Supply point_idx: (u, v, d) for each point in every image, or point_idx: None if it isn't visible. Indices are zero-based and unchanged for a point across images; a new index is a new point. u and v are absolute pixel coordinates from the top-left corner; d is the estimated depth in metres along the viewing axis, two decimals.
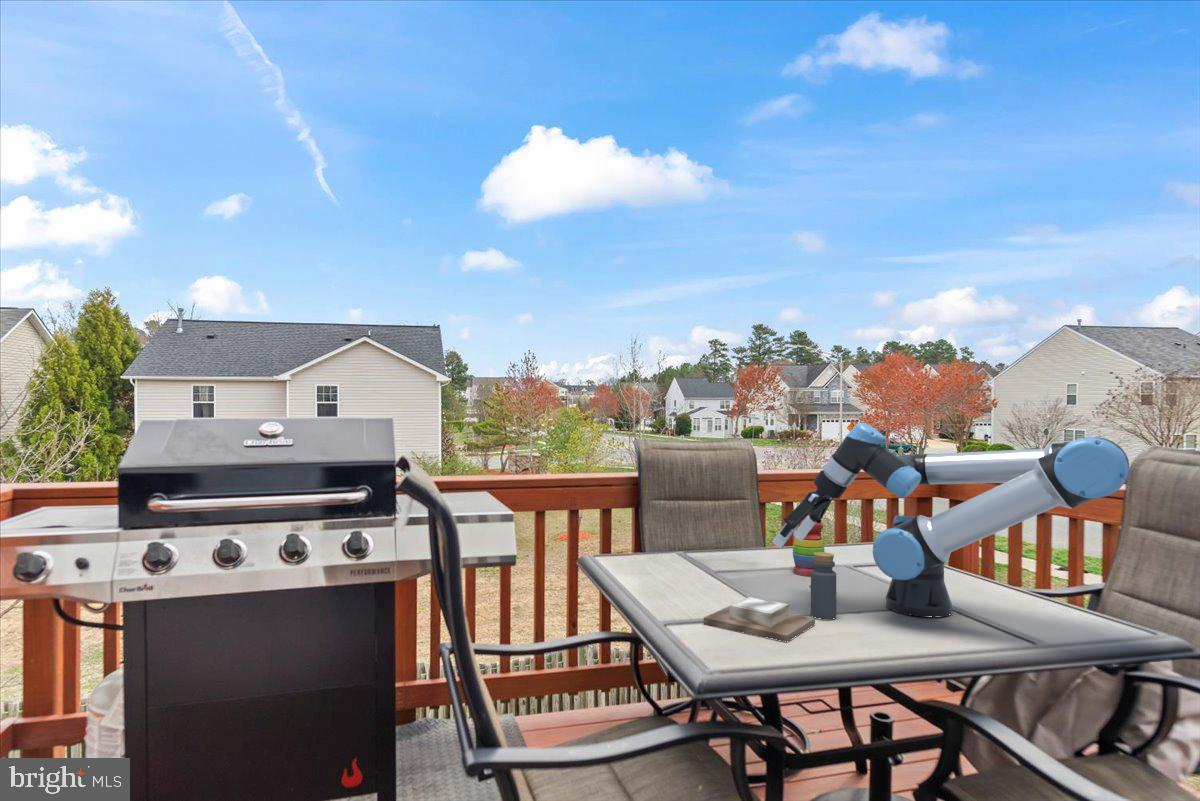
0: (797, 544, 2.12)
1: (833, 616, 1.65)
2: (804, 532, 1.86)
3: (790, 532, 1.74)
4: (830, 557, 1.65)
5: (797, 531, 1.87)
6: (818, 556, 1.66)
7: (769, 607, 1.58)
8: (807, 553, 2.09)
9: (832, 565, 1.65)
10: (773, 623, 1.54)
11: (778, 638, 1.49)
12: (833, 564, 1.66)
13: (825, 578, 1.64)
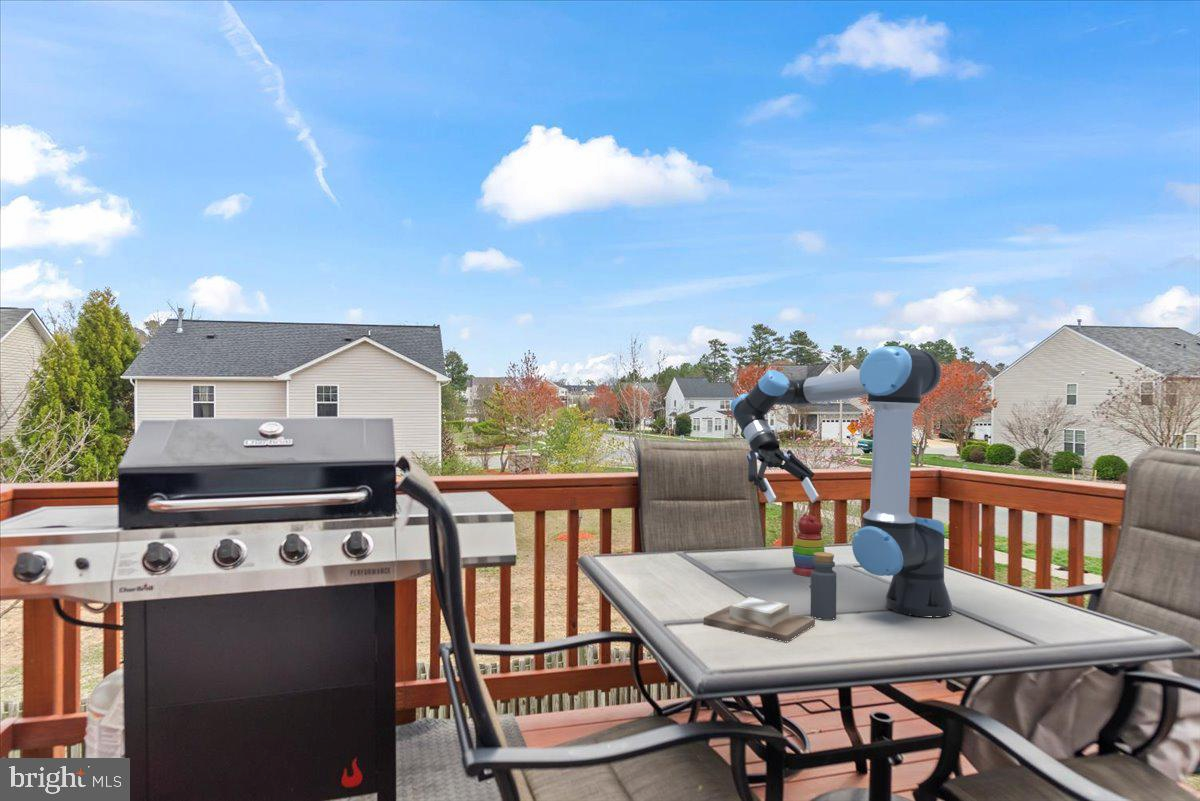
0: (797, 544, 2.12)
1: (833, 616, 1.65)
2: (811, 490, 1.87)
3: (765, 483, 1.83)
4: (830, 557, 1.65)
5: (810, 497, 1.87)
6: (818, 556, 1.66)
7: (769, 607, 1.58)
8: (807, 553, 2.09)
9: (832, 565, 1.65)
10: (773, 623, 1.54)
11: (778, 638, 1.49)
12: (833, 564, 1.66)
13: (825, 578, 1.64)
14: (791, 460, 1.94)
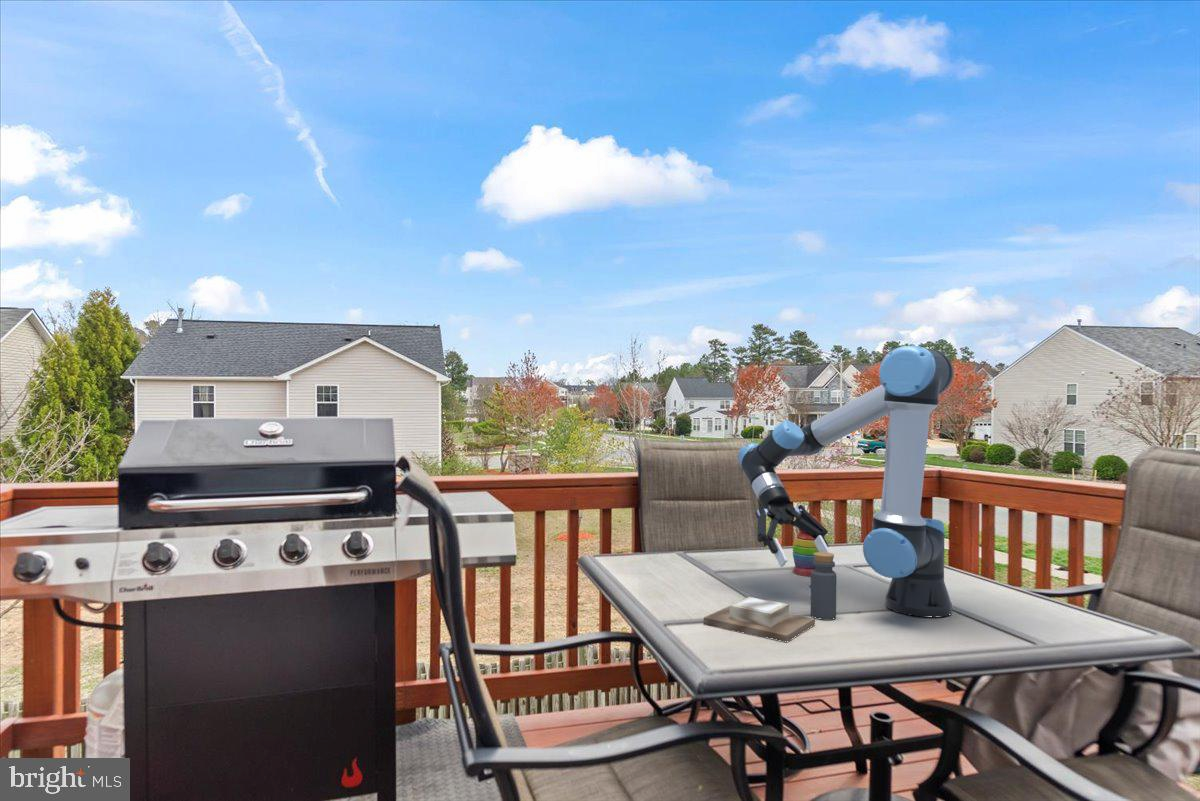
0: (797, 544, 2.12)
1: (833, 616, 1.65)
2: (824, 549, 1.76)
3: (775, 543, 1.72)
4: (830, 557, 1.65)
5: None
6: (818, 556, 1.66)
7: (769, 607, 1.58)
8: (807, 553, 2.09)
9: (832, 565, 1.65)
10: (773, 623, 1.54)
11: (778, 638, 1.49)
12: (833, 564, 1.66)
13: (825, 578, 1.64)
14: (803, 516, 1.83)
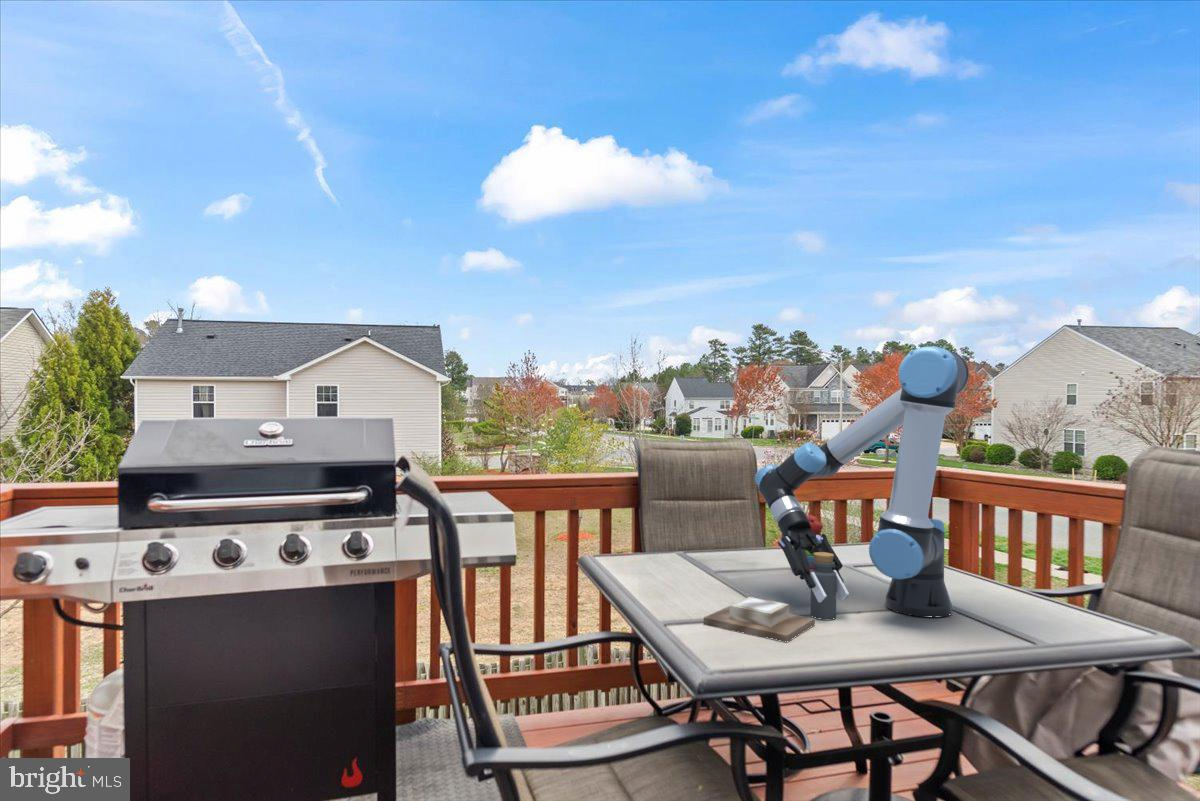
0: None
1: (833, 615, 1.65)
2: (839, 585, 1.66)
3: (813, 577, 1.65)
4: (830, 557, 1.65)
5: (838, 593, 1.67)
6: (818, 556, 1.66)
7: (769, 607, 1.58)
8: (807, 553, 2.09)
9: (832, 565, 1.65)
10: (773, 623, 1.54)
11: (778, 638, 1.49)
12: (833, 564, 1.66)
13: (825, 578, 1.64)
14: (822, 545, 1.75)
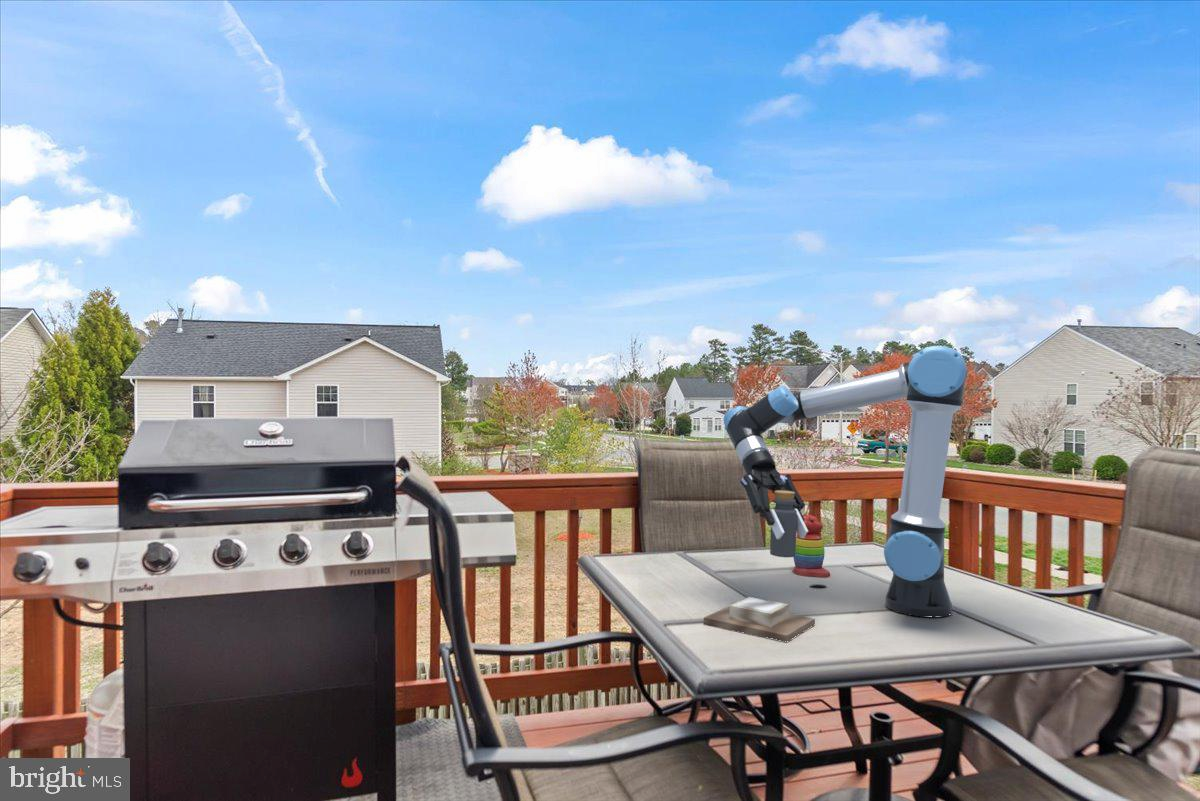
0: (797, 544, 2.12)
1: (791, 553, 1.63)
2: (799, 524, 1.64)
3: (772, 514, 1.64)
4: (790, 494, 1.63)
5: (798, 531, 1.65)
6: (778, 493, 1.64)
7: (769, 607, 1.58)
8: (807, 553, 2.09)
9: (792, 502, 1.63)
10: (773, 623, 1.54)
11: (778, 638, 1.49)
12: (793, 501, 1.64)
13: (785, 515, 1.63)
14: (786, 485, 1.73)
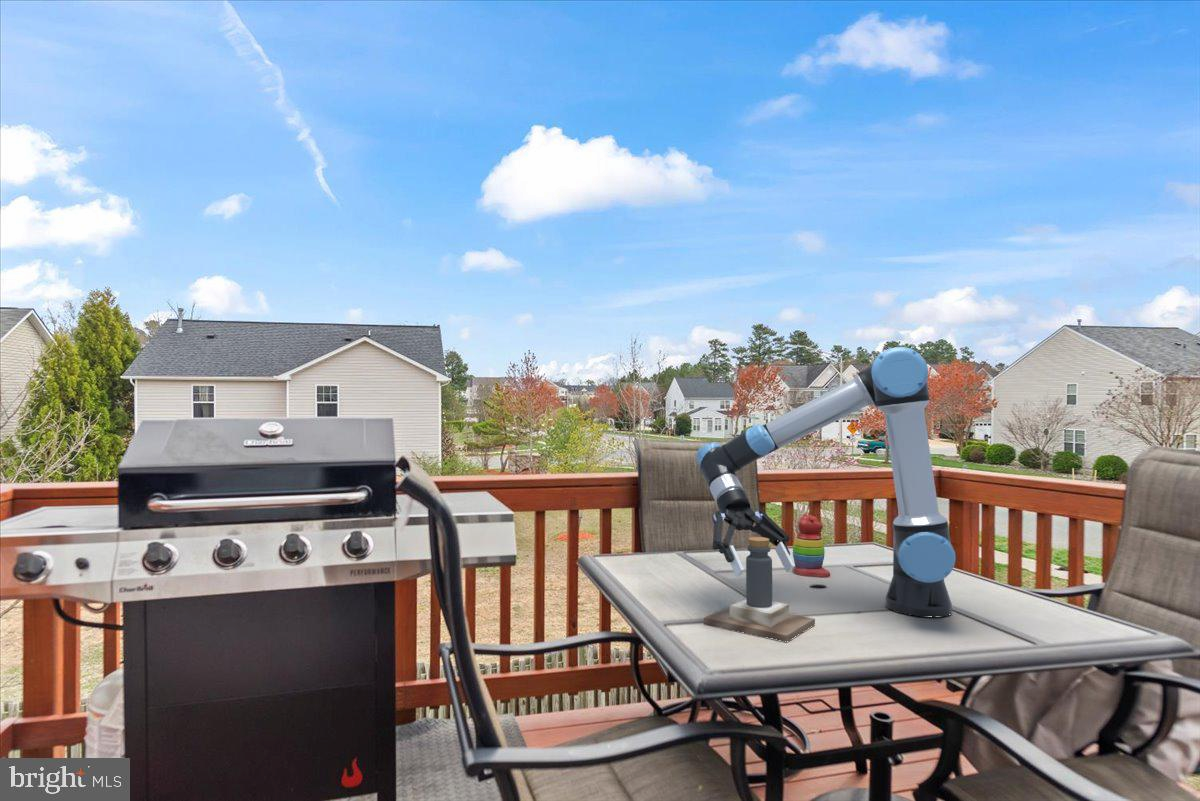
0: (797, 544, 2.12)
1: (768, 603, 1.58)
2: (785, 557, 1.62)
3: (731, 551, 1.58)
4: (765, 542, 1.58)
5: (784, 565, 1.62)
6: (752, 541, 1.59)
7: (769, 607, 1.58)
8: (807, 553, 2.09)
9: (767, 550, 1.58)
10: (773, 623, 1.54)
11: (778, 638, 1.49)
12: (768, 549, 1.59)
13: (760, 564, 1.58)
14: (764, 521, 1.69)
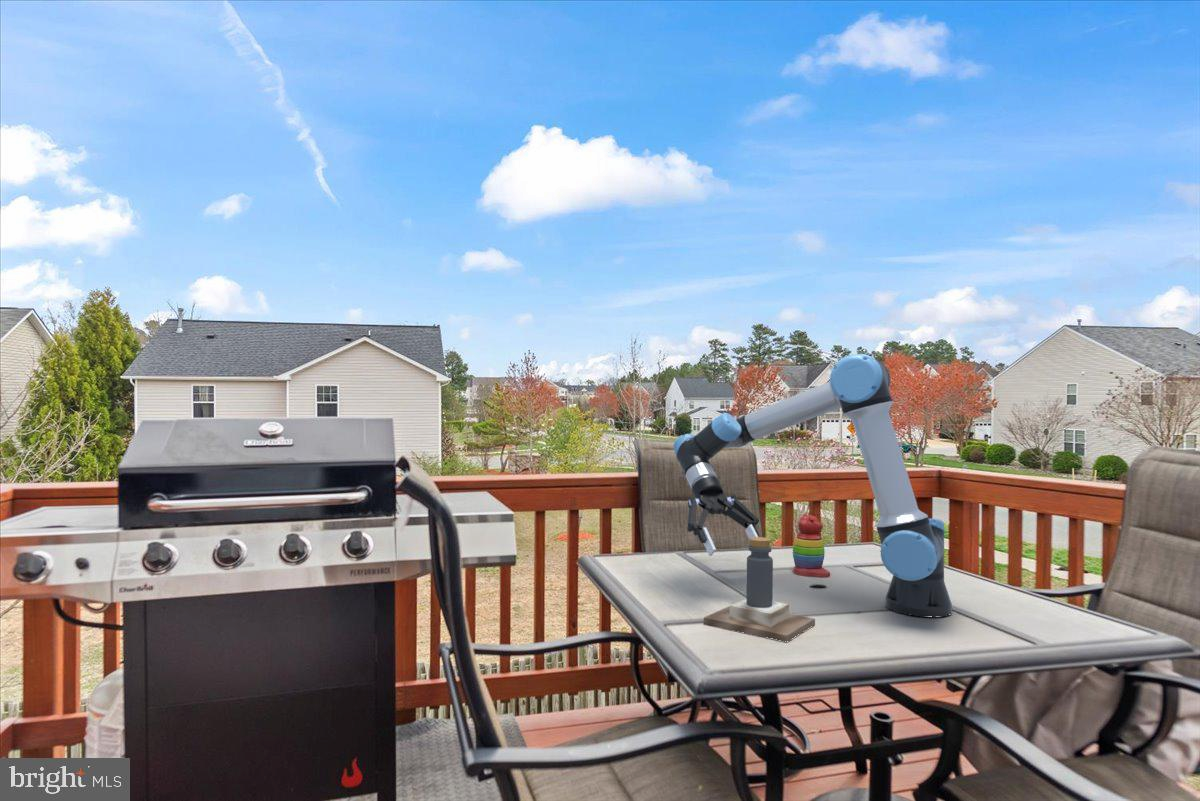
0: (797, 544, 2.12)
1: (768, 603, 1.58)
2: None
3: (704, 532, 1.72)
4: (766, 542, 1.58)
5: None
6: (754, 541, 1.59)
7: (769, 607, 1.58)
8: (807, 553, 2.09)
9: (768, 550, 1.58)
10: (773, 623, 1.54)
11: (778, 638, 1.49)
12: (769, 549, 1.59)
13: (761, 564, 1.58)
14: (735, 505, 1.83)
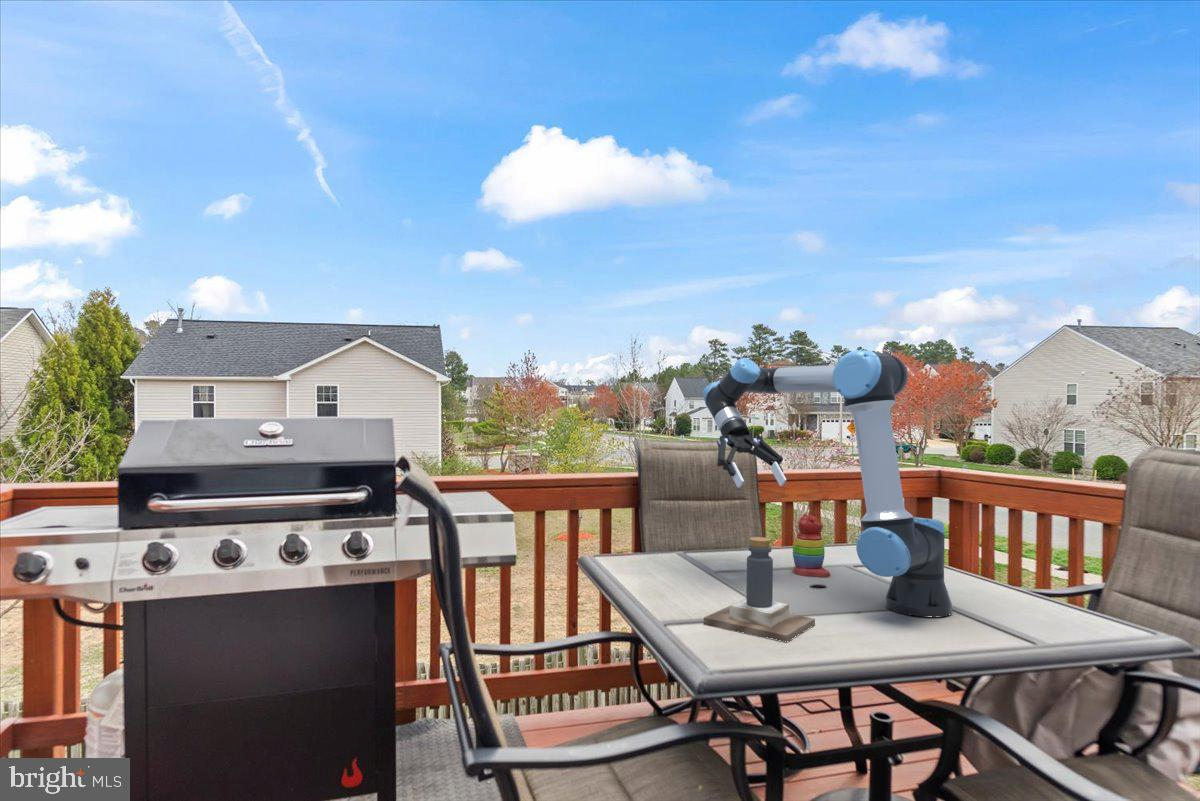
0: (797, 544, 2.12)
1: (768, 603, 1.58)
2: (779, 474, 1.91)
3: (733, 467, 1.87)
4: (766, 542, 1.58)
5: (778, 481, 1.91)
6: (753, 541, 1.59)
7: (769, 607, 1.58)
8: (807, 553, 2.09)
9: (768, 550, 1.58)
10: (773, 623, 1.54)
11: (778, 638, 1.49)
12: (769, 549, 1.59)
13: (761, 564, 1.58)
14: (761, 445, 1.98)
